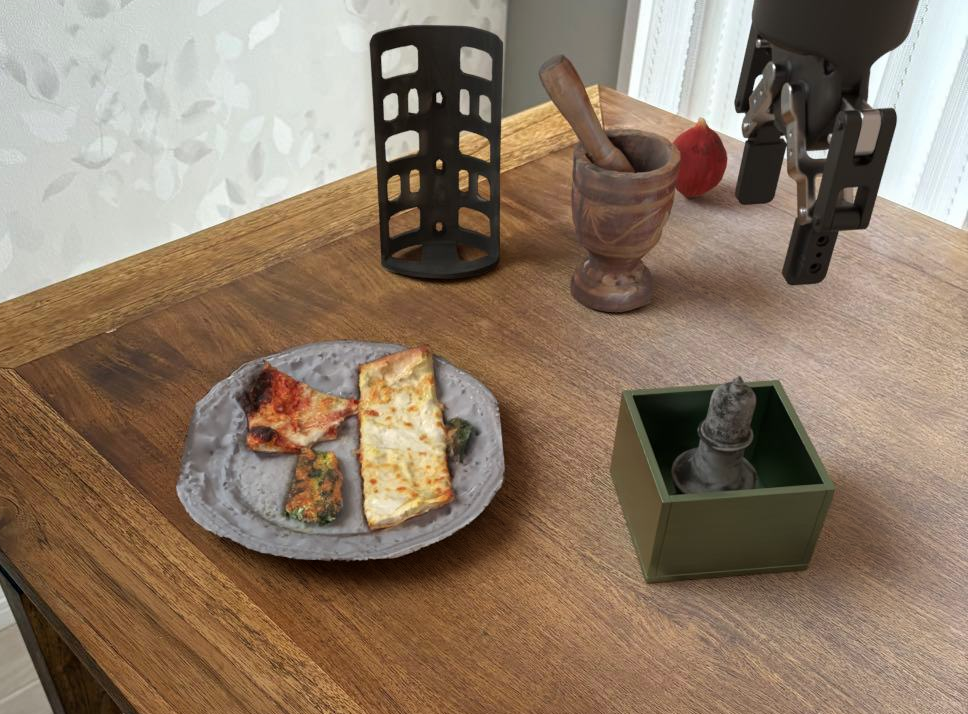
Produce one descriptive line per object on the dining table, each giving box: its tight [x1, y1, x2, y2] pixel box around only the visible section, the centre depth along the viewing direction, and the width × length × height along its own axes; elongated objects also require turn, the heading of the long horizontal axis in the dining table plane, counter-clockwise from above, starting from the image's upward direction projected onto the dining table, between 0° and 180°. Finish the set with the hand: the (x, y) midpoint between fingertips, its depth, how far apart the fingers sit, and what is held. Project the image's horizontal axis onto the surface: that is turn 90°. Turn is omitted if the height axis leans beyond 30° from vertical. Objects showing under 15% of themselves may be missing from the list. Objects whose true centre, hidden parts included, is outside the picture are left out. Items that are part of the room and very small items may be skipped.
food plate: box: [175, 338, 506, 563], centre depth 82 cm, size 25×23×4 cm
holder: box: [369, 24, 504, 280], centre depth 96 cm, size 11×8×20 cm
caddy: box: [609, 379, 837, 584], centre depth 76 cm, size 11×11×8 cm
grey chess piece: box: [671, 375, 759, 495], centre depth 74 cm, size 6×6×12 cm
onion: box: [672, 117, 728, 199], centre depth 107 cm, size 6×6×8 cm
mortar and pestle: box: [538, 53, 681, 313], centre depth 91 cm, size 12×9×20 cm
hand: (776, 239), depth 63 cm, fingers open, 8 cm apart
